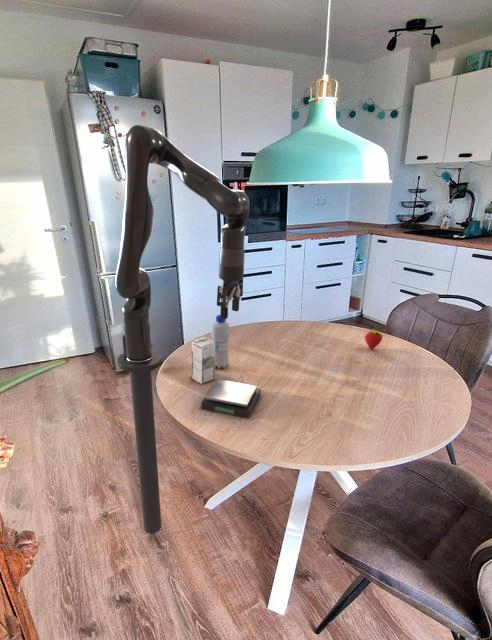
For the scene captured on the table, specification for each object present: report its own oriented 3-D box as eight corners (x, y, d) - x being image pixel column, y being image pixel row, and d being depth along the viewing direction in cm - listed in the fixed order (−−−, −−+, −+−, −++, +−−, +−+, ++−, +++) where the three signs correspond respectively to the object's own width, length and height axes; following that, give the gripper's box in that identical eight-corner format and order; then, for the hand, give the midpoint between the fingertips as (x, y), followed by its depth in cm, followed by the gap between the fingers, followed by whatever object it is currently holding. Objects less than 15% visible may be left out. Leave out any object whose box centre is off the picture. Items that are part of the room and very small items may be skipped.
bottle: (218, 371, 140) (219, 319, 132) (207, 365, 145) (207, 314, 137) (232, 366, 145) (234, 316, 136) (221, 360, 149) (222, 311, 141)
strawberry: (359, 347, 167) (363, 325, 163) (374, 345, 169) (379, 324, 165) (367, 352, 162) (372, 330, 158) (383, 351, 164) (387, 328, 160)
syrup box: (204, 373, 139) (204, 336, 132) (214, 379, 135) (215, 341, 129) (191, 378, 135) (190, 340, 129) (202, 384, 131) (202, 345, 125)
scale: (201, 409, 117) (201, 402, 116) (216, 387, 130) (216, 381, 129) (248, 418, 114) (249, 411, 113) (260, 395, 126) (260, 389, 125)
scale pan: (205, 399, 117) (205, 396, 116) (218, 381, 127) (218, 379, 127) (246, 406, 114) (247, 404, 113) (257, 388, 124) (257, 386, 124)
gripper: (230, 257, 123) (228, 306, 130) (209, 265, 111) (208, 318, 118) (252, 260, 120) (249, 310, 127) (233, 268, 108) (231, 323, 115)
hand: (229, 314), depth 122 cm, fingers open, 8 cm apart
